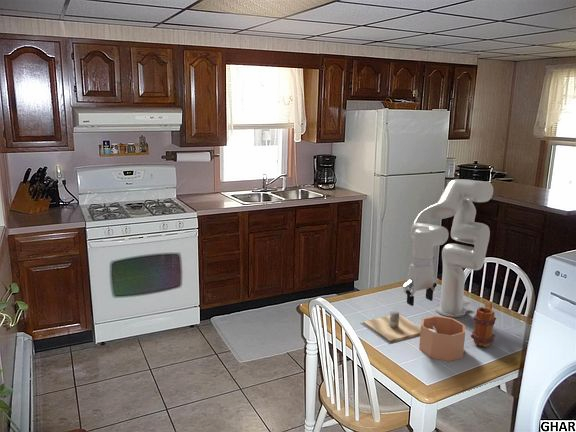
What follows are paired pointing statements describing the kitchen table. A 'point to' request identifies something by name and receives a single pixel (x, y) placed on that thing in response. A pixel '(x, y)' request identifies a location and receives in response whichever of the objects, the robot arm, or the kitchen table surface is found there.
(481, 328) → the mug
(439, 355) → the bowl
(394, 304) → the kitchen table surface
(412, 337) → the mat
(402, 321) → the lid
